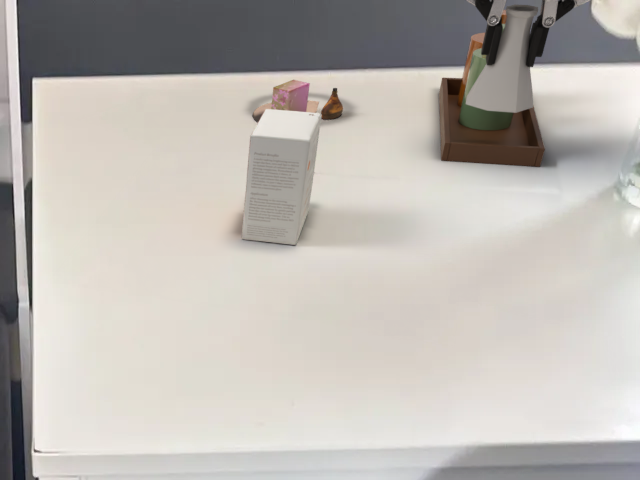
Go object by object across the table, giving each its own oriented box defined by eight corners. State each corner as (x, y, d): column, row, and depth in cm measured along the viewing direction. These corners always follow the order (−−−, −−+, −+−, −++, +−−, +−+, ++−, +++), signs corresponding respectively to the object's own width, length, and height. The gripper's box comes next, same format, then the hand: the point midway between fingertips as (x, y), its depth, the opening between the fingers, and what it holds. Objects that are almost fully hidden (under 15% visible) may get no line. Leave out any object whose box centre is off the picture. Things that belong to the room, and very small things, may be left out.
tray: (521, 101, 123) (526, 80, 122) (538, 172, 104) (545, 148, 103) (438, 97, 126) (442, 77, 124) (440, 165, 107) (444, 142, 106)
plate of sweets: (311, 138, 116) (316, 100, 113) (233, 117, 123) (236, 82, 120) (366, 113, 122) (372, 77, 119) (289, 95, 129) (293, 61, 127)
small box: (255, 208, 100) (264, 107, 94) (309, 214, 98) (323, 111, 92) (239, 240, 94) (248, 134, 88) (296, 246, 92) (310, 139, 86)
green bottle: (509, 115, 117) (533, 20, 111) (512, 132, 113) (537, 33, 106) (457, 113, 119) (477, 19, 112) (458, 129, 114) (480, 32, 108)
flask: (453, 107, 106) (474, 10, 100) (478, 90, 110) (499, -3, 104) (520, 119, 102) (546, 19, 96) (543, 101, 106) (569, 4, 100)
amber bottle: (505, 98, 123) (528, 6, 116) (508, 113, 118) (532, 18, 112) (456, 96, 124) (475, 5, 118) (457, 110, 120) (477, 17, 113)
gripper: (467, -129, 91) (428, 69, 102) (660, -131, 87) (597, 76, 98) (465, -138, 97) (428, 50, 108) (645, -141, 93) (588, 56, 104)
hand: (509, 61), depth 103 cm, fingers closed on flask, 3 cm apart
